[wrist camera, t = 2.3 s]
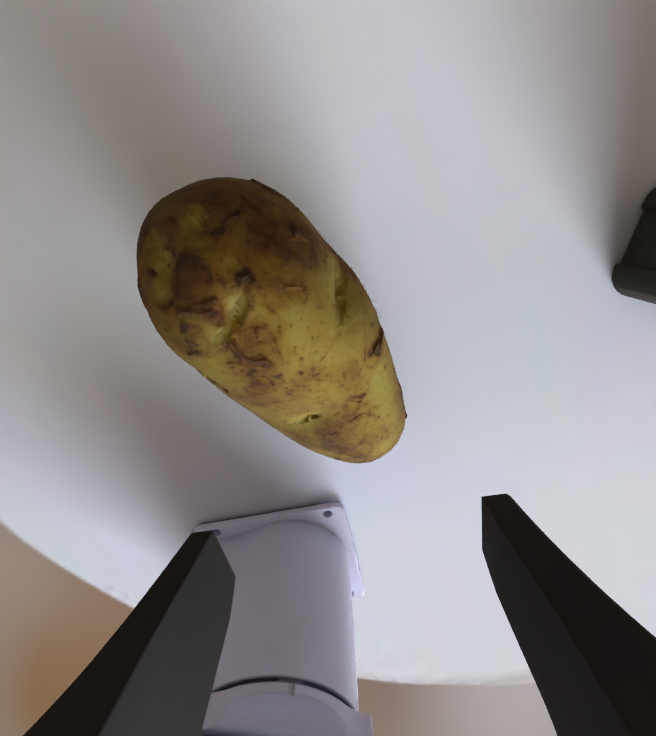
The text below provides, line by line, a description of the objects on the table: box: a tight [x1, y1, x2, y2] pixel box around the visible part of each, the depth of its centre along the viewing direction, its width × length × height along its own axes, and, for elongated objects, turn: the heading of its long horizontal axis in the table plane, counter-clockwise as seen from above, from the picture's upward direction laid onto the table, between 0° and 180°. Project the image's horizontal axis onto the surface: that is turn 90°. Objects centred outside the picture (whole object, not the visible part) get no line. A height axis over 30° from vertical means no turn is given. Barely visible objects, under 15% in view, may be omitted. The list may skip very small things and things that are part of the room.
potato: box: [137, 177, 407, 463], centre depth 15 cm, size 8×13×8 cm, turn 14°
